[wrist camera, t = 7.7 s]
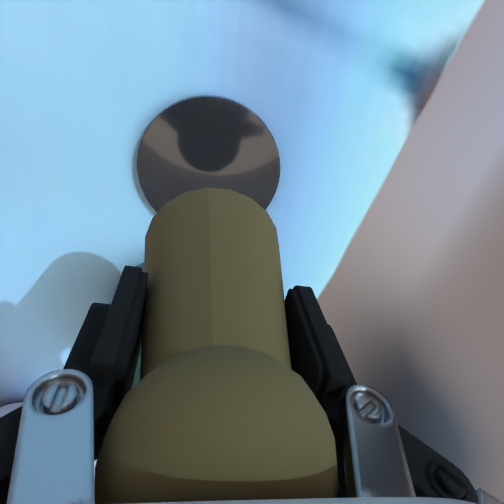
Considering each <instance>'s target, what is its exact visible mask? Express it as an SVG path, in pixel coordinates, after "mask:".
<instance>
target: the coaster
mask: <svg viewBox="0 0 504 504" xmlns="http://www.w3.org/2000/svg"><path fill="white" fill-rule="evenodd" d="M137 170H138V176H139V181H140V184H141V188H142V190H143V192H144V194H145V196H146V198H147V200H148V201H149V203H150V204H151V206H152V207H153V208H154V210H155V211H156V212H157V213H158V212H159V210H160V209H161V208H162V207H163V206H164V205H165V204H166V203H167V202H169V201H171V200H172V199H174V198H176V197H178V196H179V195H181V194H183V193H185V192H188V191H193V190H198V189H203V188H208V187H209V188H219V189H230V190H233V191H235V192H238V193H240V194H243V195H245V196H247V197H250V198H252V199H253V200H254V201H255V202H256V203H257V204H259V205H260V206H261V207H262V208H263V209H264V210H265V209H266V208H267V207H268V205H269V204H270V202H271V201H272V199H273V197H274V195H275V192H276V189H277V186H278V182H279V177H280V158H279V153H278V149H277V146H276V143H275V140H274V138H273V136H272V134H271V132H270V131H269V129H268V128H267V126H266V125H265V124H264V122H263V121H262V120H261V119H260V118H259V117H258V116H257V115H256V114H255V113H254V112H252V111H251V110H250V109H248V108H247V107H245V106H244V105H242V104H240V103H238V102H236V101H234V100H231V99H227V98H224V97H219V96H206V95H202V96H195V97H190V98H186V99H183V100H180V101H178V102H176V103H174V104H172V105H170V106H169V107H167V108H166V109H164V110H163V111H162V112H161V113H160V114H159V115H157V117H156V118H155V119H154V120H153V121H152V122H151V124H150V125H149V127H148V128H147V130H146V132H145V134H144V136H143V138H142V140H141V143H140V147H139V151H138V159H137Z"/></svg>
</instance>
